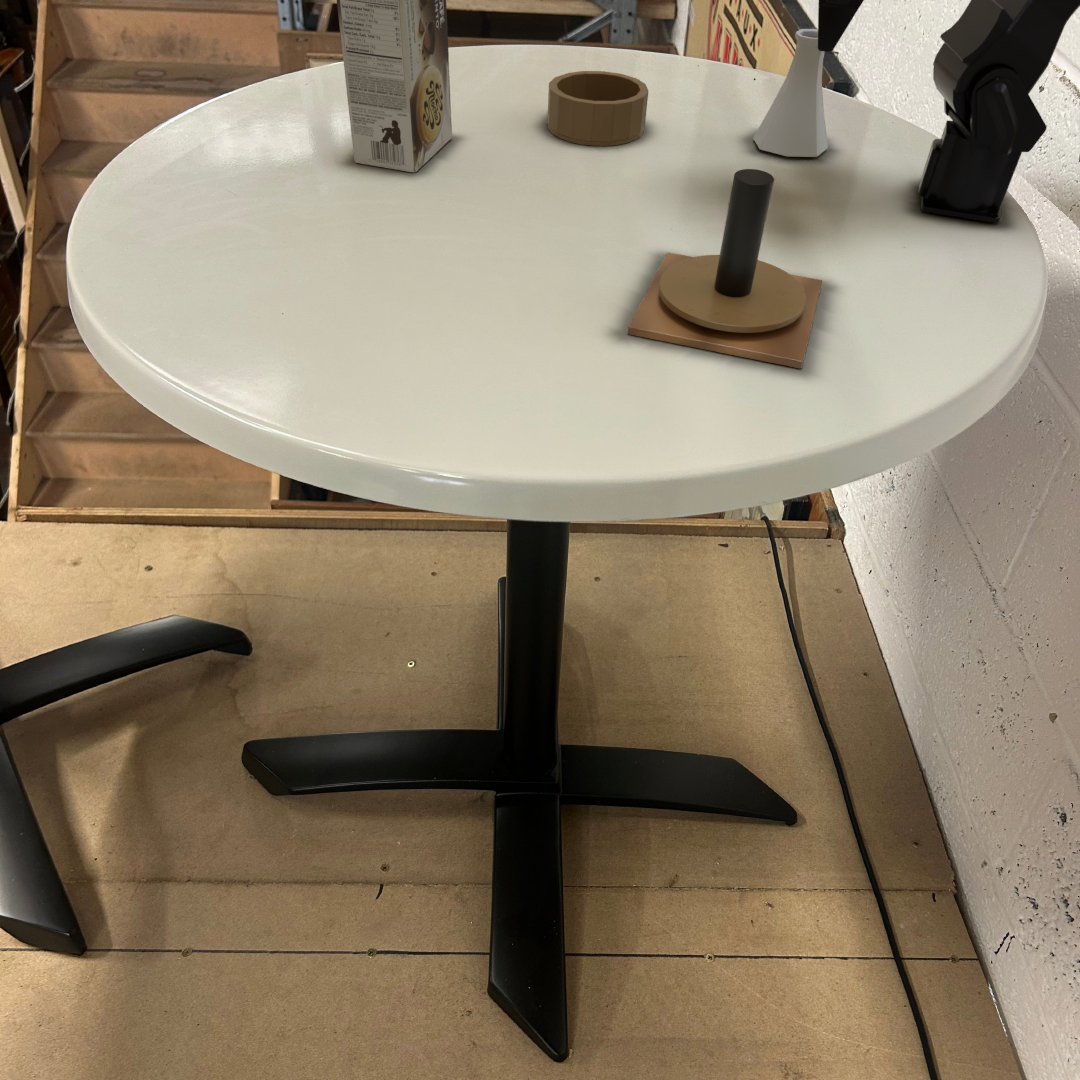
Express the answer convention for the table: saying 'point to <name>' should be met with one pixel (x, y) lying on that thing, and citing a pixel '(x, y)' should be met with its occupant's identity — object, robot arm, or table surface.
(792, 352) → the cork mat
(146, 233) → the table surface
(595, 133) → the tin
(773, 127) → the flask
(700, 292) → the tin lid
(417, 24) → the coffee box
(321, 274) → the table surface
